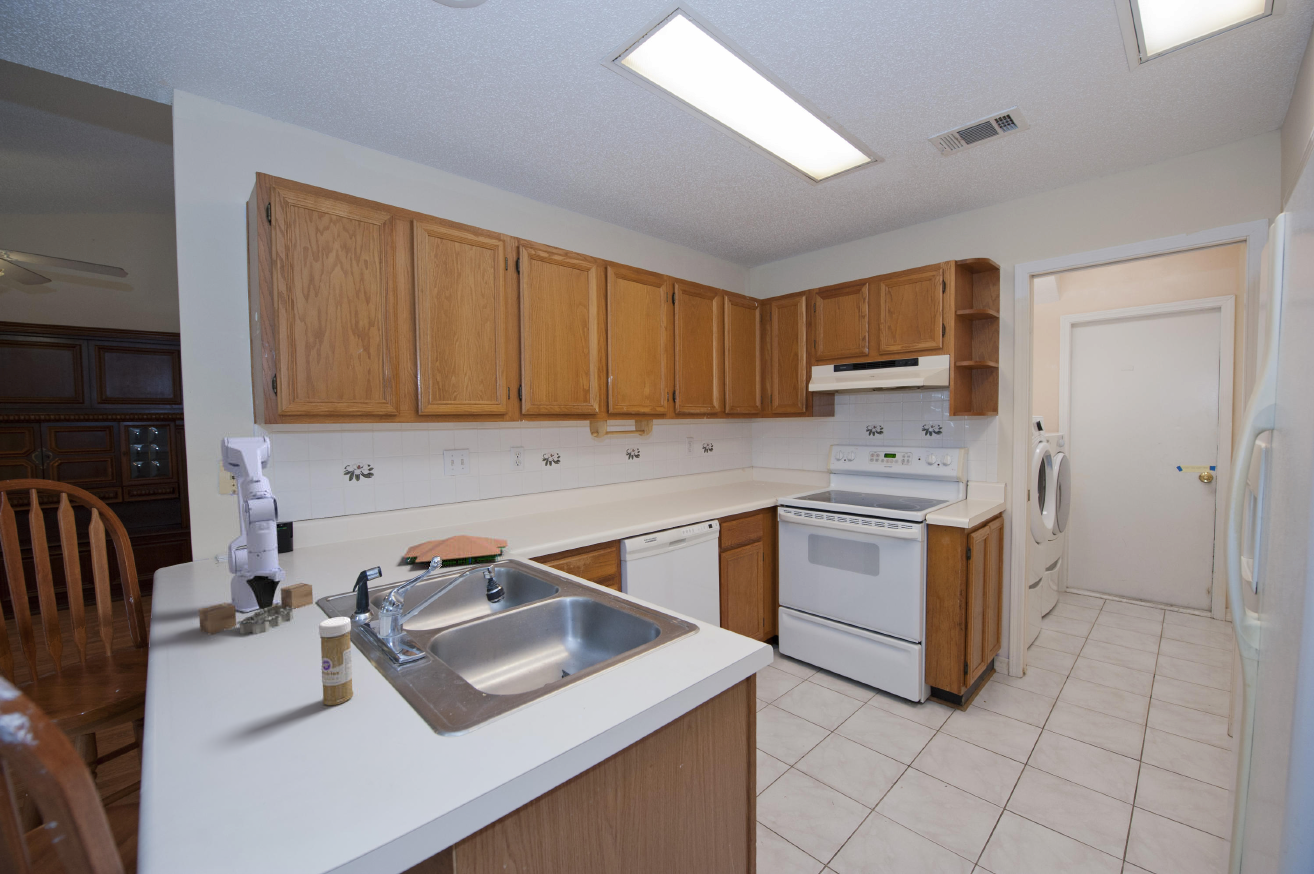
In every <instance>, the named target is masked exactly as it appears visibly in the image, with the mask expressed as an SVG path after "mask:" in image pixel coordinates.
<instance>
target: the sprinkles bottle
mask: <svg viewBox="0 0 1314 874" xmlns="http://www.w3.org/2000/svg"><path fill="white" fill-rule="evenodd" d="M351 625H352V624H351V619H350V617H348V616H337V617H332V618H328V619H326V620H323V621H322V622H320V623H319V625H318V630H319V632H318V635H319V637H320V648H321V649H320V650H321V651H320V654H321V683H322V703H323V705H326V706H334V705H335V706H336V705H341V704H343V703H345V702H347V701H348V700H350V699H351V698H352V697H353V696H354V690H353V666H352V664H353V663H352V662H353V661H352V646H351V629H352V627H351Z"/></svg>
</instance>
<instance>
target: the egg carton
mask: <svg viewBox="0 0 1314 874" xmlns="http://www.w3.org/2000/svg"><path fill="white" fill-rule="evenodd" d="M273 603H274V602H273ZM292 609H294V610H296V608H293V607H292V608H289V607H286V608H285V609H284V608H283V607H282V604H272V606H271V607H268V608H264V609H259V610H258V611H255V612H254V613H253V614H252V615H250V616H246V617H245V618H243V619H242V620H239V621H236V622H235V623H236V625H239V634H240V633H244V634H246V633H252V635H258V634H262V632H263V633H267V632H270V629H271V628H270V627H272V628H275V627H274V626H278V627H280V626H282V625H283V624H282V623H285V622H284V621H286V622H291V621H293V620H294V610H292ZM292 619H293V620H292ZM290 620H291V621H290ZM257 633H258V634H257Z"/></svg>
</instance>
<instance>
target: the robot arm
mask: <svg viewBox="0 0 1314 874" xmlns="http://www.w3.org/2000/svg"><path fill="white" fill-rule="evenodd" d="M220 452H221V453H220V454H221V460H222V463H221V464H222V467H223V468H224V471H225V472H228V473H231V474H232V476H233V477H234V479H235V486H236V496H237V498H236V499H237V509H238V510H237V511H238V519H239V530H240V531H239V533H240V535H238V537H236V538H235V539H234V540H232V541H231V542H230V543H229V544H228V547H227V564H228V571H229V573H230V574H232V575H233V576H232V578H231V581H230V597H231V598H230V599H231V605H234V606H235V611H240V612H242V613H249V612H252V611H257V610H261V609H264V608H268V607H271V606H272V604H276V605H278V604H279V603H281V602H280V601H281V600H278V599H275V595H276V590H277V588H278V587H279V584H280V582H281V581H282V580H283V581H284V580H286V571H285V570H283V569H282V567H281V566H280V565H279V554H278V553H279V551H278V549H279V548H278V532H277V522H278V521H279V515H280V511H279V510H280V509H279V502H278V500H277V497H276V496H275V494H273V493H272V488H271V483H270V480H269V479H268V478H267V477H266V476H264V475H263V470H264V469H267V468H268V465H269V461H270V457H271V442H270V439H269V438H268V436H266V435H263V436H254V437H253V436H250V437H249V436H247V437H245V436H244V437H222V439H221V440H220ZM273 602H274V603H273Z"/></svg>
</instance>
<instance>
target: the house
mask: <svg viewBox="0 0 1314 874" xmlns="http://www.w3.org/2000/svg"><path fill="white" fill-rule="evenodd" d="M508 546H509V545H508V540H507V539H499V538H491V537H482V536H474V535H465V534H462V535H454V536H451V537H448V538H445V539H434V540H428V541H425V542H421V543H419V544H416V545H413V546H410V547H408V549H407V551H406V552H405V553H404V555H403V558H404V559H405V558H406V563H407V562H408V560H409V559H410V557H411V559H410V560H411V562H412V563H413V561H414V562H415V563H421V562H422V563H423V562H424V563H425V562H426V563H427V562H432V561H431V559H432V558H433V557H434V556H440V557H441V558H442V561H444V560H445V562H444V564H445V565H447V562H446V560H452V559H453V562H452V561H450V562H449V564H454V563H455V561H454V559H461V561H460V560H459V563H460V562H461V563H462V562H464V560H463V561H462V559H465V558H469V559H468V560H467V565H468V564H469V565H470V563H471V562H474V559H472V558H473V557H474V558H476V557H482V558H478V561H479V560H480V561H481V560H483V563H485V561H484V560H485V556H487V558H488V560H492V559H493V558H492V557H490V556H494V555H495V557H494V558H496V559H497V560H498V561H499V556H498V555H501V552H503V549H505V548H506V547H508ZM414 558H416V559H414ZM408 563H409V562H408ZM471 564H472V563H471Z"/></svg>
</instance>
